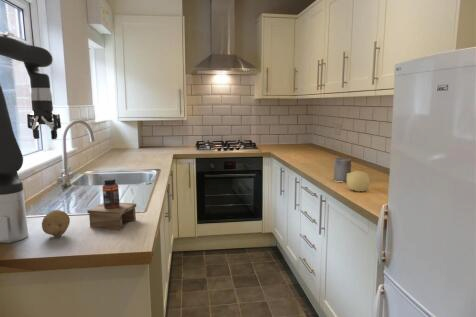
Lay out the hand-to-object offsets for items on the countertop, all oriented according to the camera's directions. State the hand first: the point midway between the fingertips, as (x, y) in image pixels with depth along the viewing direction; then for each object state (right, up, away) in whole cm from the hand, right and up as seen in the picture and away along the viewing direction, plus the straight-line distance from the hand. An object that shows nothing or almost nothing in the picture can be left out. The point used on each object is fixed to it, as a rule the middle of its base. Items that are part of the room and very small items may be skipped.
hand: (45, 138), depth 145 cm
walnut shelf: (+30, -34, -6) cm, 46 cm away
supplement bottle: (+30, -28, -7) cm, 41 cm away
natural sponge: (+15, -37, -19) cm, 44 cm away
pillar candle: (+143, -22, +65) cm, 159 cm away
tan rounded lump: (+145, -26, +43) cm, 154 cm away
